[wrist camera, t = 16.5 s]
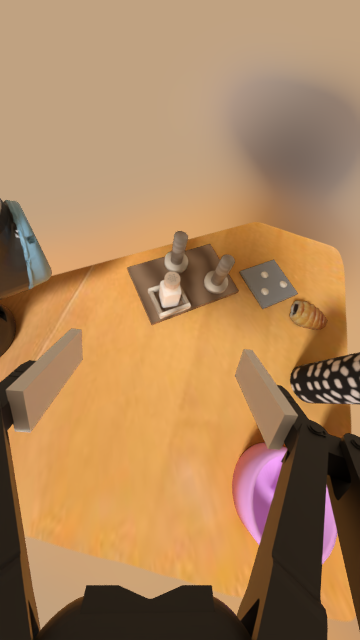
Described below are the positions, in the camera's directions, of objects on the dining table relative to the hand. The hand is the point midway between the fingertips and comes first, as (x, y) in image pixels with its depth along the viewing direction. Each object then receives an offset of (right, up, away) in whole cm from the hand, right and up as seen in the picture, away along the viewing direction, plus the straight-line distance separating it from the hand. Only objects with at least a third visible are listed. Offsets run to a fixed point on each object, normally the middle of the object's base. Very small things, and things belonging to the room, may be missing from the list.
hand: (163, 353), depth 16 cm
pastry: (+34, +4, +37) cm, 50 cm away
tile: (+26, +13, +39) cm, 48 cm away
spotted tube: (+31, -12, +30) cm, 45 cm away
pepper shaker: (-1, +7, +32) cm, 33 cm away
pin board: (+2, +13, +35) cm, 38 cm away
